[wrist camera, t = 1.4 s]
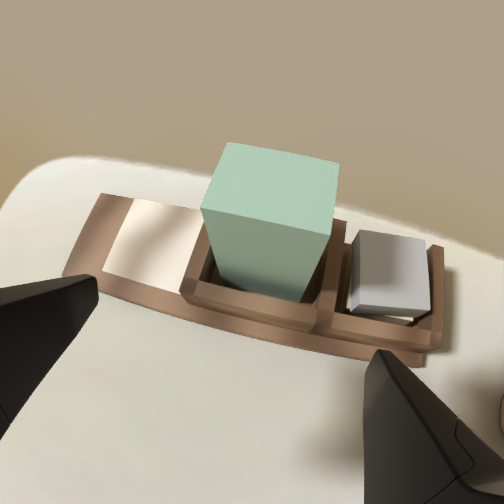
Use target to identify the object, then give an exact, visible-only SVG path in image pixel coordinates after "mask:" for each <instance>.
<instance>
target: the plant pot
mask: <svg viewBox="0 0 504 504" xmlns="http://www.w3.org/2000/svg"><path fill="white" fill-rule="evenodd" d="M501 427H502V431H503V433H504V397H503V401H502V406H501Z"/></svg>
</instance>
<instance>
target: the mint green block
mask: <svg viewBox="0 0 504 504" xmlns="http://www.w3.org/2000/svg"><path fill="white" fill-rule="evenodd" d="M338 172H339V164H338V163H334V162H330V161H326V160H321V159H317V158H312V157H308V156H303V155H298V154H293V153H288V152H283V151H278V150H272V149H267V148H262V147H256V146H250V145H244V144H237V143H230V142H228V143H227V145H226V147H225V149H224V152H223V154H222V156H221V159H220V161H219V163H218V166H217V168H216V170H215V173H214V175H213V177H212V180H211V182H210V184H209V187H208V189H207V192H206V194H205V197H204V199H203V202H202V204H201V207H200V209H201V212H202V216H203V219H204V223H205V226H206V230H207V233H208V237H209V240H210V243H211V247H212V250H213V254H214V257H215V260H216V264H217V267H218V270H219V274H220V277H221V280H222V283H223V285H224V286H228V287H233V288H237V289H241V290H245V291H249V292H253V293H257V294H262V295H266V296H270V297H275V298H279V299H283V300H288V301H292V302H297V303H299V302H300V300H301V297H302V295H303V293H304V291H305V289H306V287H307V285H308V283H309V281H310V279H311V277H312V275H313V272H314V270H315V268H316V266H317V264H318V262H319V260H320V257H321V255H322V253H323V251H324V249H325V246H326V244H327V242H328V240H329V238H330V235H331V228H332V221H333V214H334V206H335V198H336V190H337V181H338Z"/></svg>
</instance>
